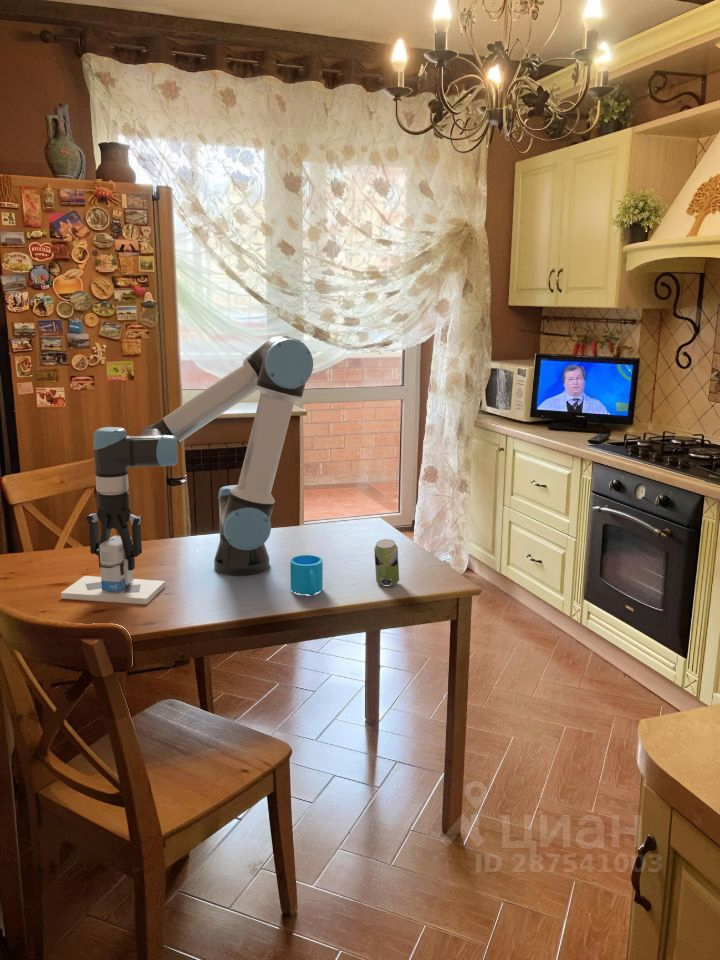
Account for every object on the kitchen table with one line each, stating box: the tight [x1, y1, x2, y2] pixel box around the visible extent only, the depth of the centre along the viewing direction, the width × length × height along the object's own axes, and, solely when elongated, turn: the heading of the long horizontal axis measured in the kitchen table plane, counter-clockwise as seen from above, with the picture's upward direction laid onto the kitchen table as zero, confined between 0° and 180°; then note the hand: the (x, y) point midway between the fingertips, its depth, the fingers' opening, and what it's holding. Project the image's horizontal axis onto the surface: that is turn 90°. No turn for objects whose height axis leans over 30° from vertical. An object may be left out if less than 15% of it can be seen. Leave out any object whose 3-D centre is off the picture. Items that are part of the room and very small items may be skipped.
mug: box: [289, 554, 324, 596], centre depth 192 cm, size 12×8×8 cm
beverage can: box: [373, 539, 400, 586], centre depth 197 cm, size 6×7×12 cm
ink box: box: [99, 535, 134, 592], centre depth 189 cm, size 8×5×12 cm, turn 172°
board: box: [60, 575, 167, 605], centre depth 191 cm, size 22×12×2 cm, turn 82°
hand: (117, 581), depth 190 cm, fingers closed on ink box, 5 cm apart
